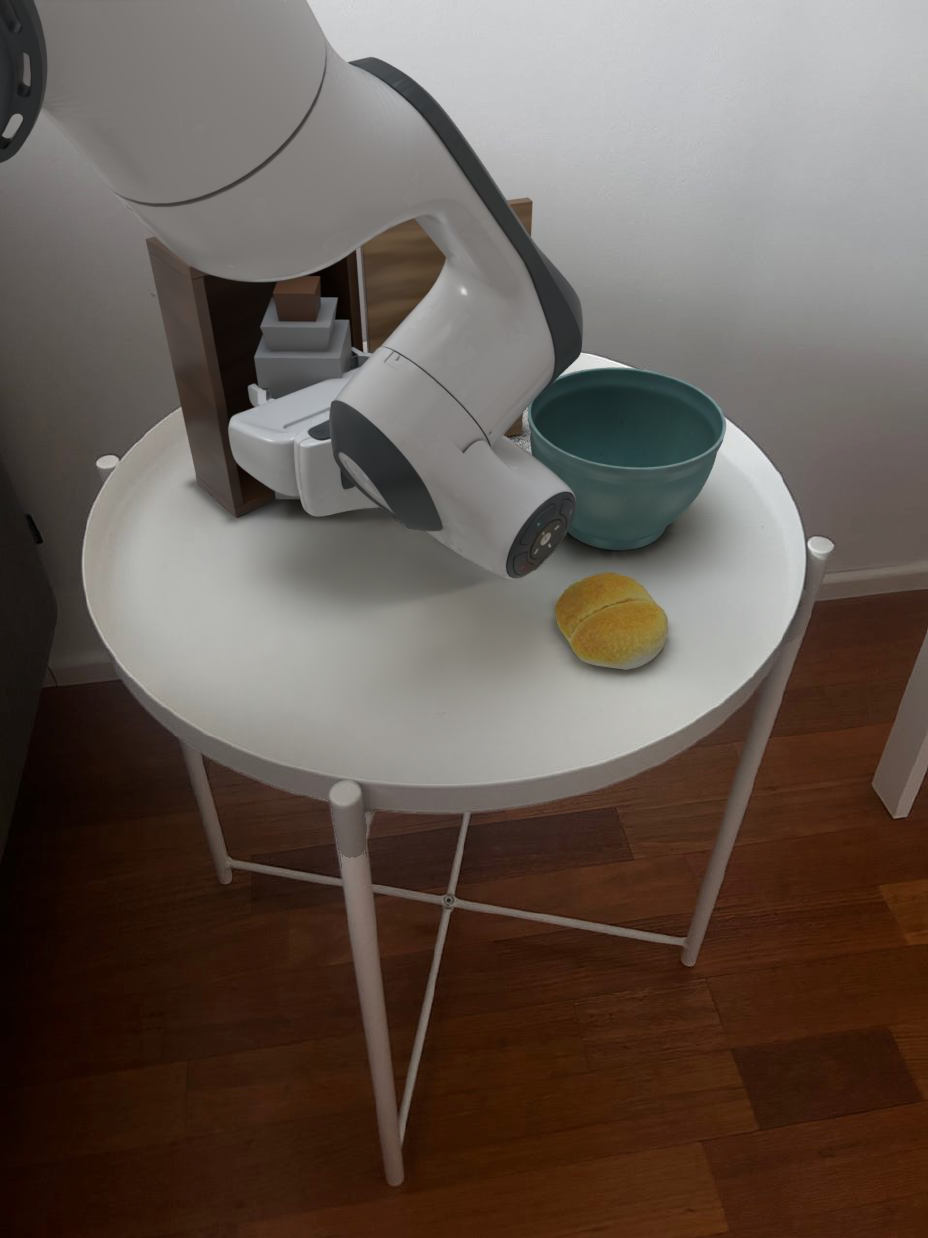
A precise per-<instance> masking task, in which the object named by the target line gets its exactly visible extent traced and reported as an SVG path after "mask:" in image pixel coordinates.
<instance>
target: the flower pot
mask: <svg viewBox="0 0 928 1238" xmlns="http://www.w3.org/2000/svg"><path fill="white" fill-rule="evenodd" d="M526 412H527V423H528V428H529V431H530V434H529V435H530V436H529V440H530V441H529V443H530V451H531V452H530V453H531V455H533V456H534V457H535V458H537V459H538V460H539V461H541V462H542V463H543V464H544V465H545V466H547V467H548V468H549V469H550V470H551V471H552V472H554V473H555V474H556V475H557V476H558V477H559V478H560V479H562V480H563V481H564V482H565V483H566V484H567V485H568V486H569V487H570V489H571V490H572V491H573V492H574V495H575V498H576V508H575V513H574V517H573V521H572V523H571V525H570V527H569V530H568V531H567V534H569V535H570V536H571V537H573V538H574V539H575V540H577V541H579V542H580V543H583V544H585V545H588V546H591V547H594V548H598V549H603V550H611V551H628V550H635V549H640V548H643V547H645V546H648V545H650V544H652V543H653V542H655V541H657V540H658V539H659V538H660V537H661V536H662V535H663V534H664V532H665V530H666V527H668V525H670V524H672V523H673V522H674V521H675V520H676V519H678V518H679V517H680V516H681V515H683V513H685V511H686V510H688V508H689V507H690V506H691V505H692V504H693V503H694V501H695V500H696V499H697V498H698V496H699V495H700V493H701V491H702V490H703V488H704V487H705V485H706V483H707V481H708V479H709V477H710V476H711V473H712V470H713V468H714V465H715V462H716V459H717V454H718V452H719V450H720V448H721V446H722V445H723V443H724V439H725V435H726V431H727V421H726V416H725V414H724V411H723V410H722V408H721V407H720V405H718V403H717V402H716V401H715V399H713V397H712V396H710V395H709V394H707V393H706V392H705V391H704V390H702V389H700V388H699V387H697V386H695V385H693V384H692V383H689V382H687V381H685V380H682V379H680V378H678V377H675V376H672V375H668V374H665V373H661V372H657V371H653V370H649V369H642V368H633V367H617V366H616V367H614V366H613V367H612V366H611V367H597V368H596V367H595V368H587V369H580V370H576V371H573V372H572V371H571V372H569V373H566V374H561V375H560V376H559V377H558V378H557V379H556V380H555V381H554V382H553V383H552V384H551V385H550V386H549V387H548V388H547V389H545V390H544V391H542V392H541V393H540V394H539V395H538V396H537V397H536V398H535V399H534V401H533V402H532V403H531V404H530V405H529V406H528V407H527V411H526Z"/></svg>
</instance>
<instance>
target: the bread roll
mask: <svg viewBox="0 0 928 1238" xmlns="http://www.w3.org/2000/svg"><path fill="white" fill-rule="evenodd" d="M554 617H555V621H556V624H557V628H558V629H559V631H560V633H562V635H563V636H564V638H565V639H566V640H567V642H568V644H569V645H570V648H571V650H572V651H573V653H574V654H575V655H576V656H577V658H578V659H579V660H580V661H582V662H583V663H586V664H587V665H593V666H595V667H602V668H610V669H618V670H625V671H626V670H627V671H628V670H632V669H636V668H640V667H642V666H644V665H645V664H648V663H649V662H651V661H653V659H654V658H656V656H658V655H659V654H660V653H661V651H662V650H663V648H664V647H665V644H666V641H667V639H668V633H669V620H668V616H667V614H666V612H665V610H664V609H663V608H662V607H661V606H660V605H659V604H657V602H656V601H655V600H654V599H653V597H652V595H651V594H650V593H649V592H648V590H647V589H646V588H645V586H643V585H642V584H640V582H638V581H637V580H636V579H635V578H633V577H630V576H627V575H623V574H619V573H616V572H603V573H597V574H593V575H590V576H587V577H584V578H582V579H581V580H577V581H574V582H573V583H571V584H570V585H569V586H567V587H566V588H565V589H564V591H563V592H562V593H561V595H560V596H559V597H558V599H557V600H556V602H555V607H554Z"/></svg>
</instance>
